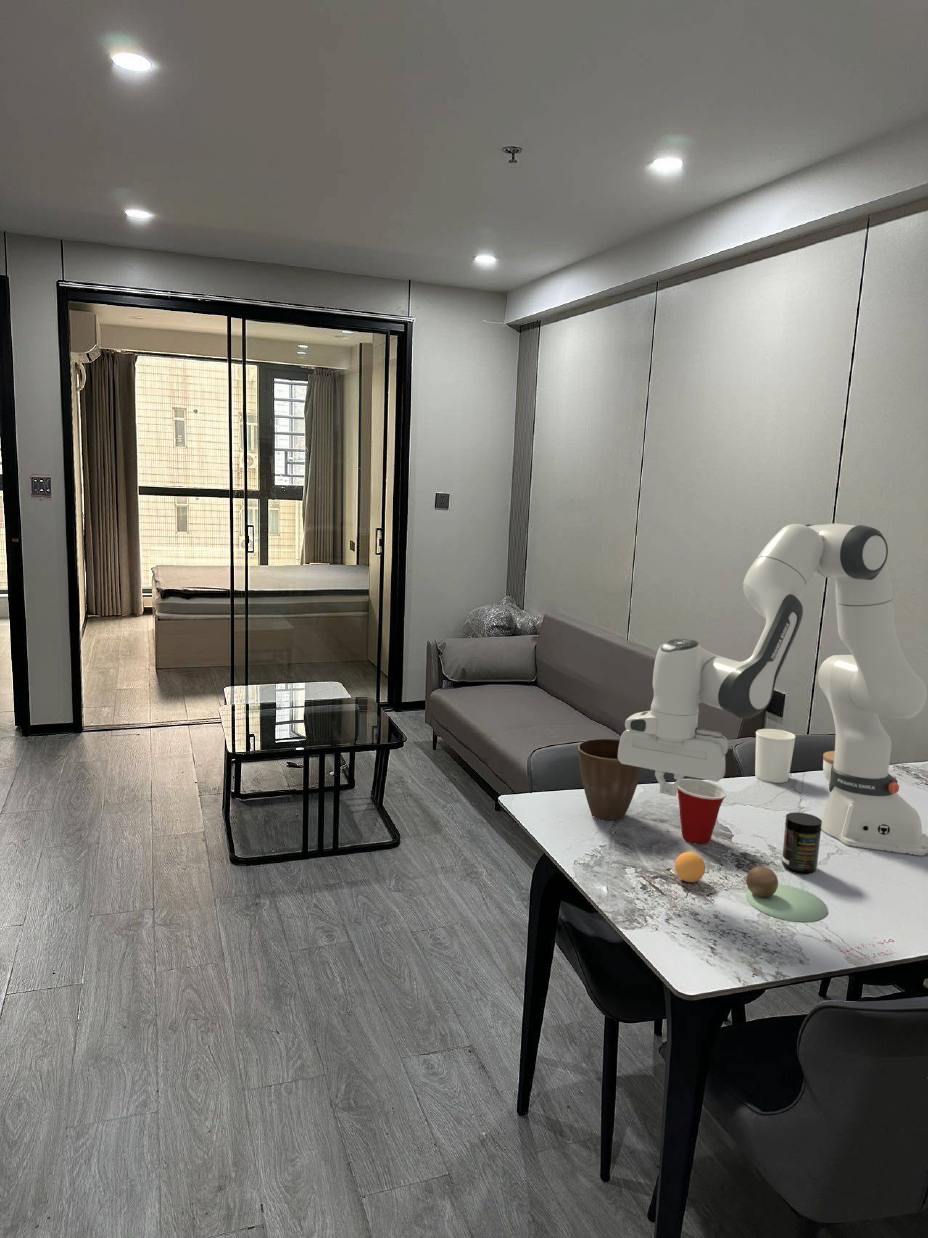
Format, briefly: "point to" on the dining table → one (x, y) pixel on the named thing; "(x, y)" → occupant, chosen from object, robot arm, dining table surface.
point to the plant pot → (607, 779)
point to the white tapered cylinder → (773, 755)
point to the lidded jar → (828, 763)
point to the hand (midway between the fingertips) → (668, 793)
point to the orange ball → (690, 867)
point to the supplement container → (801, 843)
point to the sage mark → (790, 904)
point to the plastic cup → (699, 809)
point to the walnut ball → (762, 881)
